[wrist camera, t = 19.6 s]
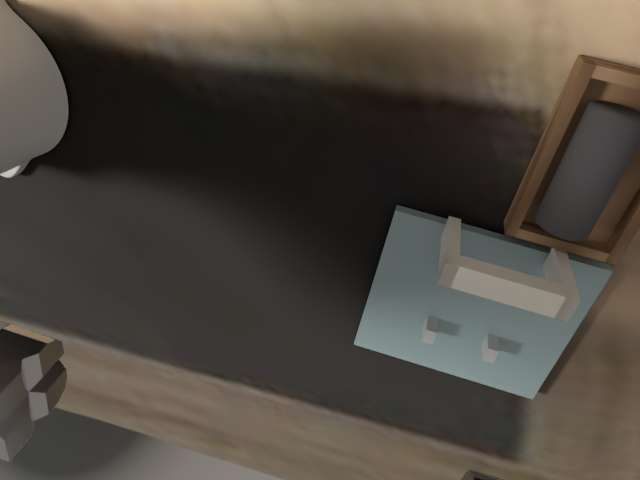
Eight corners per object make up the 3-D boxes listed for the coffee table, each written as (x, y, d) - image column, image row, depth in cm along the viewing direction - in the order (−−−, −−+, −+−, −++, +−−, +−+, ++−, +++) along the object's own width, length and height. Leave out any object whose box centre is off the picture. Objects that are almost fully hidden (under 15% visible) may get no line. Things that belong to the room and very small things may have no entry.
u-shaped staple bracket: (441, 235, 44) (437, 284, 39) (448, 215, 43) (445, 262, 37) (555, 268, 43) (567, 322, 38) (566, 248, 42) (580, 301, 37)
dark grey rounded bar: (545, 205, 42) (526, 222, 39) (598, 96, 37) (581, 106, 34) (595, 229, 40) (579, 248, 38) (658, 117, 35) (645, 130, 32)
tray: (503, 221, 44) (504, 234, 42) (579, 54, 36) (584, 62, 34) (609, 250, 43) (615, 265, 41) (709, 86, 35) (721, 96, 33)
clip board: (355, 337, 54) (350, 358, 52) (396, 204, 45) (392, 222, 43) (531, 391, 52) (534, 415, 50) (610, 264, 43) (619, 286, 41)
